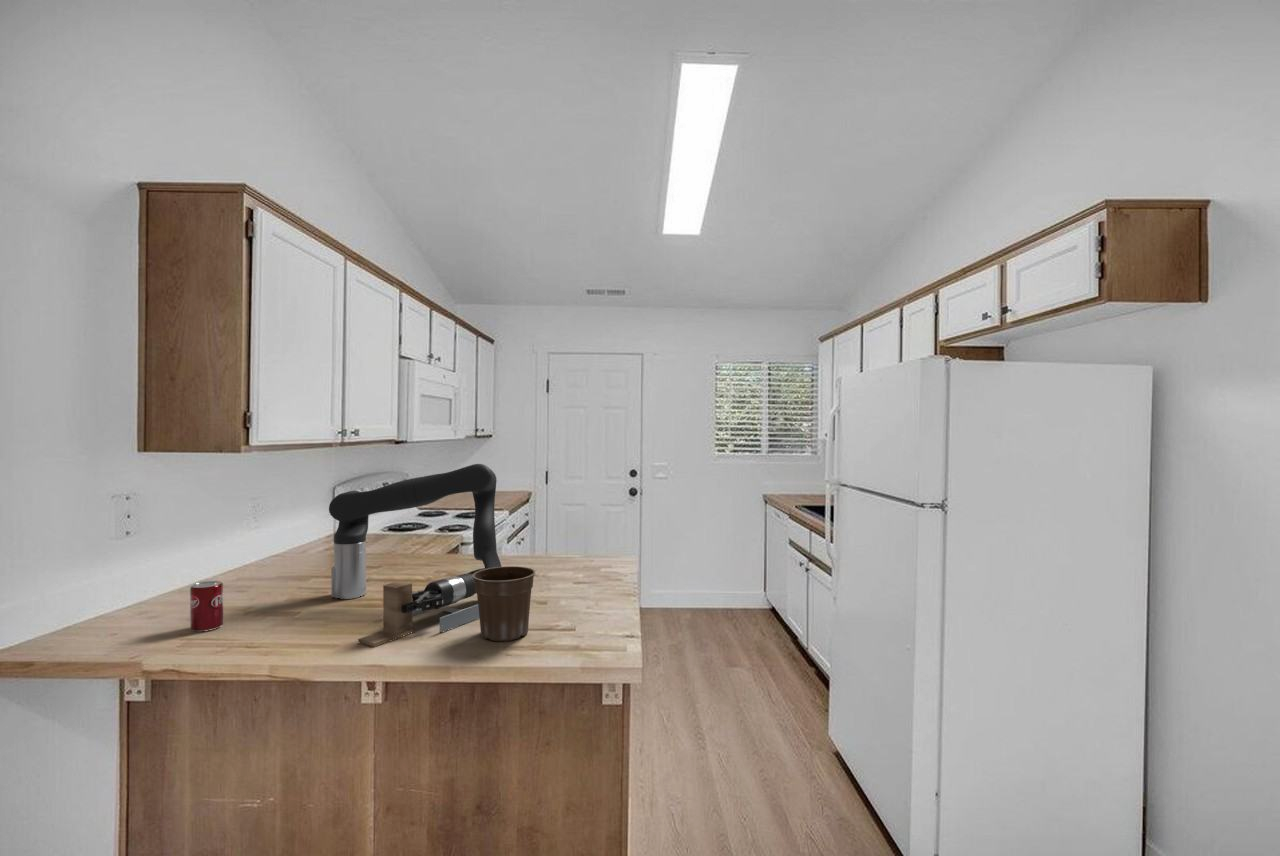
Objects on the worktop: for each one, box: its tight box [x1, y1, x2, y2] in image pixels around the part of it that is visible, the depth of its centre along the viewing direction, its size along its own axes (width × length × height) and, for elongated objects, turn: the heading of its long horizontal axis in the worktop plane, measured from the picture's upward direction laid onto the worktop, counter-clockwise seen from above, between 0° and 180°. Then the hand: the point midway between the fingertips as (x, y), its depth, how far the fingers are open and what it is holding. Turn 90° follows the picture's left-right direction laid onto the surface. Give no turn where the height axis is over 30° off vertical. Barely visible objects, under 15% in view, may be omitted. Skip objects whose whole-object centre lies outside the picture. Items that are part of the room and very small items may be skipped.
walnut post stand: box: [357, 580, 414, 648], centre depth 158 cm, size 12×6×13 cm, turn 151°
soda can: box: [189, 580, 224, 632], centre depth 166 cm, size 7×7×12 cm
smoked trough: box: [412, 603, 479, 633], centre depth 174 cm, size 16×19×4 cm
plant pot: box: [472, 565, 536, 642], centre depth 162 cm, size 16×16×16 cm
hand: (395, 607), depth 161 cm, fingers closed on walnut post stand, 5 cm apart
